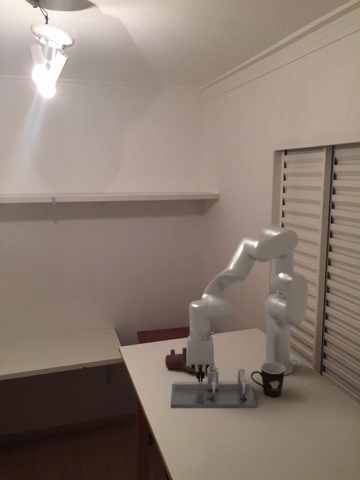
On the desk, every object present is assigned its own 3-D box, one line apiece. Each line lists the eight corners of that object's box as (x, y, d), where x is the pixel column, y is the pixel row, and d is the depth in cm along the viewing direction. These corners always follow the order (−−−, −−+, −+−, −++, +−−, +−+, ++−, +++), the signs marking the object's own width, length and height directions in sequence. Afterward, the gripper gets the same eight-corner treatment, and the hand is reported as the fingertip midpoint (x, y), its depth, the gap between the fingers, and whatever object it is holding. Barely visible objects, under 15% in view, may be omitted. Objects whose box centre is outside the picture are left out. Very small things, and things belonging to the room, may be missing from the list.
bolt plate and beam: (250, 386, 162) (250, 366, 160) (256, 407, 148) (256, 385, 146) (172, 386, 162) (171, 366, 161) (170, 407, 149) (170, 386, 147)
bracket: (205, 371, 168) (203, 345, 170) (166, 374, 173) (164, 349, 176) (210, 370, 174) (207, 345, 176) (171, 373, 179) (169, 349, 181)
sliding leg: (217, 383, 161) (217, 364, 159) (219, 399, 150) (219, 378, 149) (207, 383, 161) (207, 364, 159) (208, 399, 150) (208, 378, 149)
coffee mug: (286, 389, 159) (287, 364, 157) (281, 401, 151) (282, 375, 149) (255, 383, 164) (256, 359, 162) (249, 394, 156) (250, 369, 154)
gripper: (219, 330, 158) (219, 375, 162) (179, 330, 159) (180, 375, 162) (221, 338, 151) (221, 385, 155) (179, 338, 152) (180, 385, 155)
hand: (200, 380), depth 158 cm, fingers closed
